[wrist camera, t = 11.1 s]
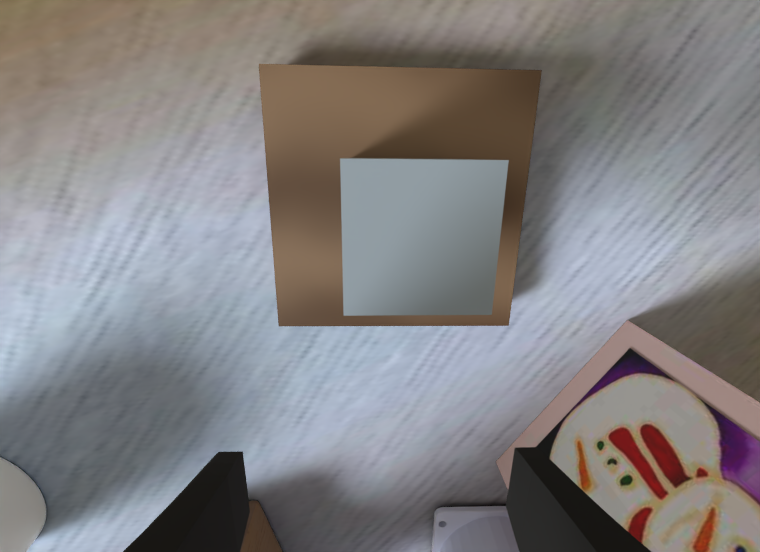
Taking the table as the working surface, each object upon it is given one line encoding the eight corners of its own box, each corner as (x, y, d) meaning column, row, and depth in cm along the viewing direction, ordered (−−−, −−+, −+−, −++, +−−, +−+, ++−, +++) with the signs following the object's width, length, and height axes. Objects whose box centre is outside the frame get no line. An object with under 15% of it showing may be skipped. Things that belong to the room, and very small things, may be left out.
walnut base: (494, 309, 20) (508, 325, 18) (287, 309, 19) (278, 326, 18) (521, 80, 17) (541, 70, 15) (271, 74, 16) (258, 63, 14)
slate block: (441, 252, 17) (491, 314, 10) (352, 252, 17) (343, 315, 10) (447, 158, 16) (508, 160, 9) (351, 157, 15) (339, 158, 9)
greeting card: (616, 311, 20) (1220, 686, 6) (705, 376, 22) (1364, 800, 7) (485, 455, 23) (682, 952, 9) (572, 504, 24) (866, 997, 10)
